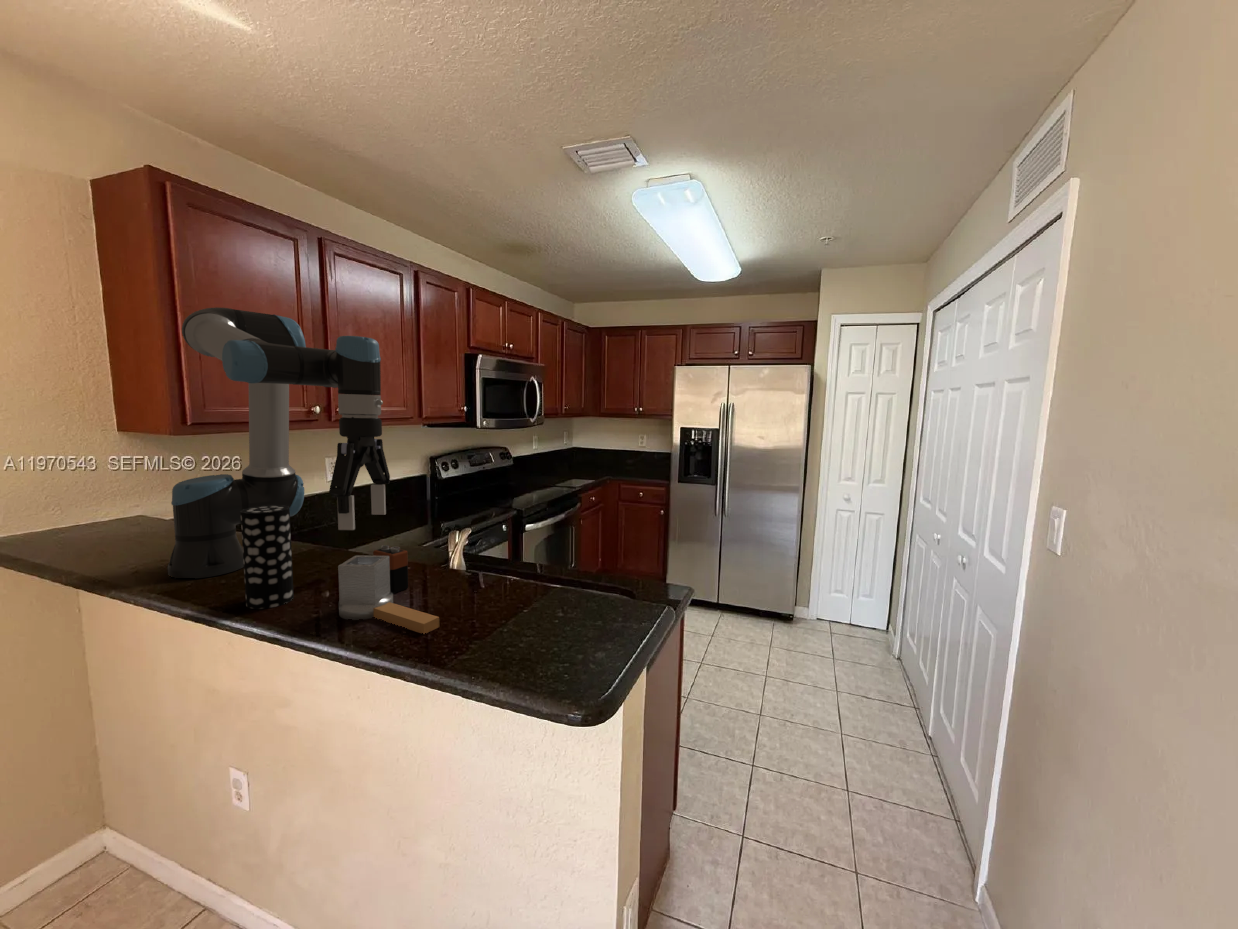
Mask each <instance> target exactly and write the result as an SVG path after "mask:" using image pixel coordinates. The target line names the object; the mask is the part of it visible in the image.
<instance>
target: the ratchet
mask: <svg viewBox="0 0 1238 929" xmlns="http://www.w3.org/2000/svg"><path fill="white" fill-rule="evenodd" d="M338 615H339V617H340V618H342V619H344V620H348V619H352V620H351V621H360V620H359V619H363V620H368V619H373V618H372V617H375V618H374V619H376V618H377V620H379V619H382V620H384V621H383V622H385V621H386V623H389V624H391V623H392V625H394V624H395V626H397V625H398V627H400V626H402V627H401V628H403V627H405V628H404V629H406V628H407V629H406V630H410V631H413V632H416V633H419V634H422V633H423V635H426V634H428V633H429V632H430V633H431V632H432V631H434V630H436V629H438V628H440V617H439V616H437V615H433V614H430V613H427V612H423V611H419V610H416V609H414V608H410V607H406V606H403V605H400V604H397V603H394V594H393V593H392V592H390V593H389V594H387V595H386V596H385V597H384V598H383V599H382V600H381V601H379V602H378V603H377V604H376V605H340V600H339V601H338ZM382 620H381V621H382ZM425 633H426V634H425Z"/></svg>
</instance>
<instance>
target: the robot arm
mask: <svg viewBox="0 0 1238 929" xmlns="http://www.w3.org/2000/svg"><path fill="white" fill-rule="evenodd" d="M182 322H183V323H182V326H181V334H182V337H183V339H184V341H185V343H186V344H187V345H188V346H189V347H190V348H191V349H193V350H194V351H195V352H197V353H199V354H201V355H203V356H207V357H210V358H216V359H218V361H222V368H223V371H224V372H225V376H226V377H227V378H228V379H229V380H230V381H233V382H242V383H243V382H244V383H248V444H249V445H248V448H249V449H248V450H249V452H248V453H249V454H248V456H249V458H248V459H249V461H248V462H249V463H248V465H247V466H246V467H244V468H243V469H242V470H241V477H242V478H239V479H237V478H235V479H234V477H233V476H232V475H231V474H227V473H225V474H212V475H205V476H198V477H193V478H189V479H185V480H182V481H179V482H178V483H175V485H174V486H173V487H172V491H171V503H170V504H171V506H172V512H173V513H172V514H173V527H174V540H175V542H174V546H173V550H172V553H171V556H170V559H169V561H168V565H167V575H170V576H172V577H175V578H174V579H176V578H195V579H204V578H210V577H216V576H220V575H225V574H229V573H232V572H236V571H237V570H241V569H244V562H243V546H242V545H241V542H240V541H239V539H238V536H237V528H236V526H237V525H241V512H240V511H241V510H243V509H247V508H252V507H259V506H271V505H281V506H288V507H289V509H290V517H293V516H296V515H297V514H298V512H299V511H300V510H301V508H302V507H303V504H304V500H305V487H304V484H305V483H304V480H303V478H302V477H301V476H300V475H298V474H296V469H295V468H293V467H292V466H291V465H290V463H289V462H290V461H289V460H290V458H289V457H290V455H289V454H290V450H289V449H290V428H289V427H290V385H297V386H310V387H311V386H312V387H315V386H316V387H324V388H334V389H336V388H337V394H338V395H337V398H338V399H337V402H338V403H337V404H338V414H339V415H341V417H340V418H339V419H338V426H339V428H338V429H339V430H338V432H339V435H340V436H341V437H346V438H347V440H346V442H337V448H336V449H337V450H336V451H337V452H336V458H335V463H334V467H333V472H332V475H331V477H332V478H331V482H330V486H329V493H328V494H330V497H336V499H337V502H336V503H337V524H338V525H337V527H338V529H337V530H338V531H355V530H356V520H355V519H356V518H355V516H356V515H355V495H354V494H353V495H352V493H353V489H354V486H355V484H356V481H357V479H358V476H359V472H360V470H361V468H363V467H365V469H366V471H367V473H368V475H369V477H370V479H371V482H372V484H370V499H371V500H370V502H371V503H370V505H371V515H372V516H373V515H374V516H375V515H376V516H377V515H383V516H384V515H386V514H387V505H386V501H387V500H386V499H387V498H386V485H389V484H390V483H391V474H390V471H389V468H388V464H387V463H388V462H387V459H386V455H385V452H384V445H383V439H381V438H378V437H382V435H383V425H382V423H383V422H382V421H383V420H382V419H381V418H380V417H379V416H381V415H382V405H383V404H384V402H383V400H382V394H381V392H382V388H381V385H382V384H381V383H382V382H381V381H382V380H381V375H382V374H381V362H382V359H381V358H382V357H381V355H380V344H379V342H378V341H377V340H376V339H374V338H373V337H366V336H358V335H341V336H339V337H337V339H336V344H335V348H334V349H328V348H327V349H326V348H317V347H307V346H306V339H305V336H304V333H303V330H302V329H301V326H300V325H299V324H298V322H297V321H295V320H294V319H292V318H290V317H287V316H281V315H278V314H272V313H271V314H270V313H264V312H263V313H262V312H256V311H248V310H241V309H235V308H234V309H233V308H230V307H207V308H203V309H202V308H201V309H199V310H197V311H194V312H192V313H191V314H189V315H188V316H187V317H186V318H185V319H184V320H183V321H182Z"/></svg>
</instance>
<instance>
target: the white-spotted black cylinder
mask: <svg viewBox="0 0 1238 929" xmlns="http://www.w3.org/2000/svg"><path fill="white" fill-rule="evenodd" d="M240 512H241V524H240V526H241V543H242V545H241V547H242V549H243V562H244V567H243V577H244V579H243V580H244V593H245V595H244V596H245V606H246V607H247V608H249V609H252V610H253V609H254V610H263V609H271V608H277V607H279V606H282V605H286V604H288V603H290V602H292V601H293V600H294V599H295V597H294V596H295V594H294V576H293V575H294V574H293V556H292V555H293V554H292V552H293V551H292V534H291V532H292V531H291V516H290V509H289V507H288V506H281V505H271V506H259V507H252V508H247V509H243V510H241V511H240ZM292 599H293V600H292ZM285 603H286V604H285Z"/></svg>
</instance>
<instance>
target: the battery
mask: <svg viewBox="0 0 1238 929" xmlns="http://www.w3.org/2000/svg"><path fill="white" fill-rule="evenodd" d="M372 556H389V564H390V592H392V593H393V595H394V594H397V593H399V592H401V591H405V590H408V589H409V567H408V565H409V564H408V560H409V558H408V556H409V554H408V550H405V549H401V547H400V546H392V547H391V546H389V545H388V544H387V545H386V544H385V545H381V548H378V549H375V550H373V553H372Z"/></svg>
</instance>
